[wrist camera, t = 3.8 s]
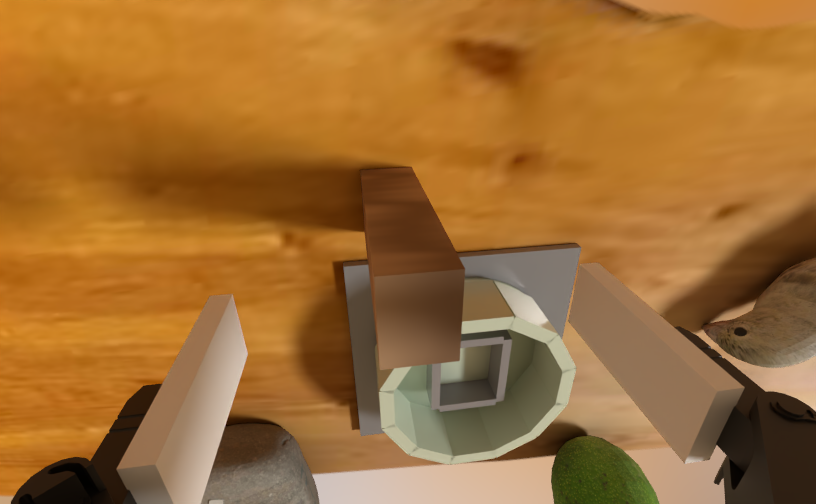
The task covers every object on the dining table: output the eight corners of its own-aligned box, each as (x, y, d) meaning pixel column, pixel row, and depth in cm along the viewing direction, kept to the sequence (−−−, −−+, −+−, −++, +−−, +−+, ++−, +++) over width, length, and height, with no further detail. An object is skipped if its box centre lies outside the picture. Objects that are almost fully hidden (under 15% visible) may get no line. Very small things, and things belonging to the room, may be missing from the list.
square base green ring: (360, 429, 34) (363, 491, 29) (343, 262, 26) (343, 309, 22) (543, 406, 35) (572, 460, 31) (576, 243, 28) (622, 283, 23)
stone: (218, 504, 35) (169, 602, 26) (214, 403, 35) (163, 462, 26) (323, 491, 37) (314, 580, 27) (319, 394, 37) (309, 446, 27)
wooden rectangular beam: (364, 232, 25) (379, 370, 15) (360, 169, 23) (374, 276, 13) (412, 229, 26) (459, 360, 15) (411, 167, 24) (465, 269, 13)
